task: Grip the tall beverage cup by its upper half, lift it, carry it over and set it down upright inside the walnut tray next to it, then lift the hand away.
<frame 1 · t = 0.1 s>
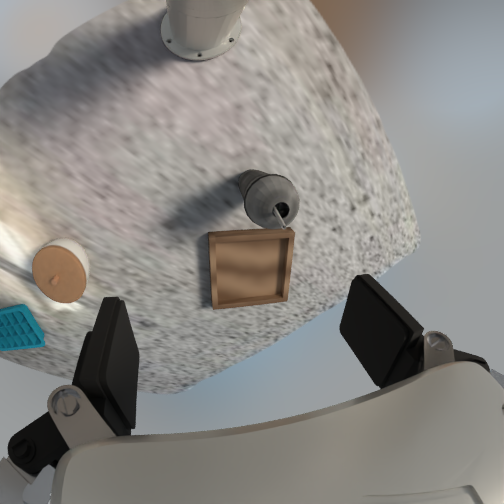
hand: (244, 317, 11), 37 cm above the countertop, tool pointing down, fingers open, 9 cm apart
lidded jar: (71, 255, 44), on the countertop
ice cube tray: (13, 323, 46), on the countertop
walnut tray: (249, 266, 53), on the countertop
beverage cup: (251, 182, 46), on the countertop
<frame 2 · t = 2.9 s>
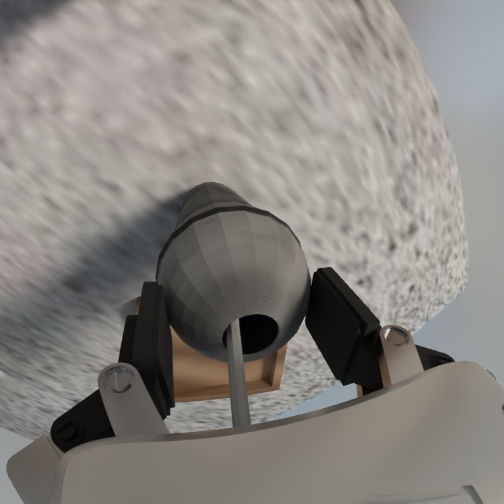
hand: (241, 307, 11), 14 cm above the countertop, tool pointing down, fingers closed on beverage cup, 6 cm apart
walnut tray: (216, 345, 30), on the countertop
beverage cup: (210, 207, 23), on the countertop, touching gripper
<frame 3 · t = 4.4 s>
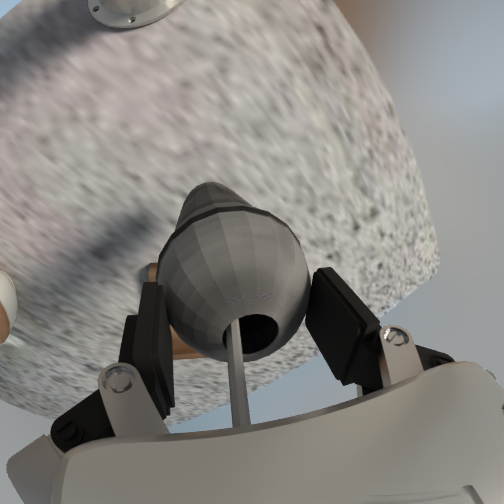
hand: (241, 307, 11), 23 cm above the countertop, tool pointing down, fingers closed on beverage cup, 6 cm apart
lidded jar: (3, 285, 29), on the countertop
walnut tray: (211, 307, 38), on the countertop
beverage cup: (210, 207, 23), point 9 cm above the countertop, touching gripper
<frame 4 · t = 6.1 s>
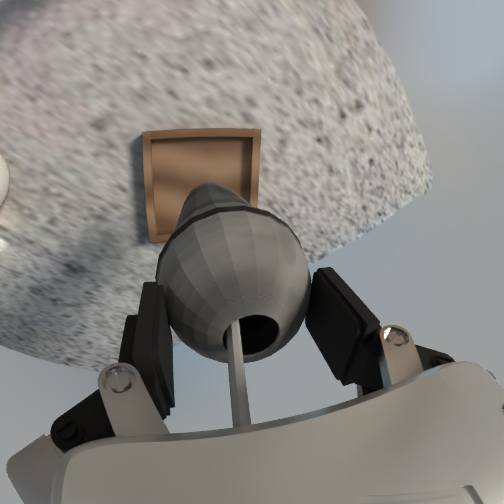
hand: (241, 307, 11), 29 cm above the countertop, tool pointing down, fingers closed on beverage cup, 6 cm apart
walnut tray: (200, 182, 37), on the countertop
beverage cup: (210, 207, 23), point 15 cm above the countertop, touching gripper
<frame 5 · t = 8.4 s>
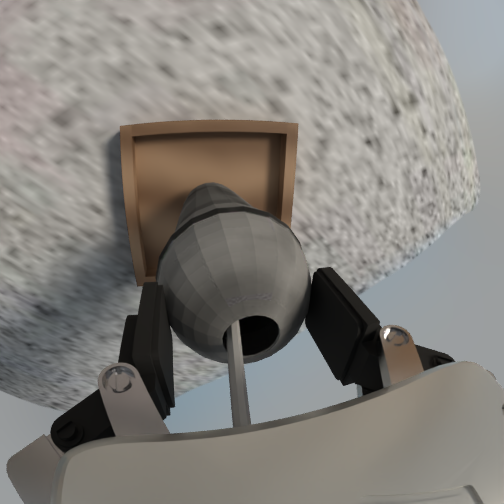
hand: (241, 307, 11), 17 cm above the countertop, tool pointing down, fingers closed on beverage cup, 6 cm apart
walnut tray: (208, 199, 26), on the countertop
beverage cup: (210, 207, 23), point 3 cm above the countertop, touching gripper
when the fingers open (16 cm above the countertop, at t = 9.5 s): beverage cup drops 1 cm, resting on walnut tray.
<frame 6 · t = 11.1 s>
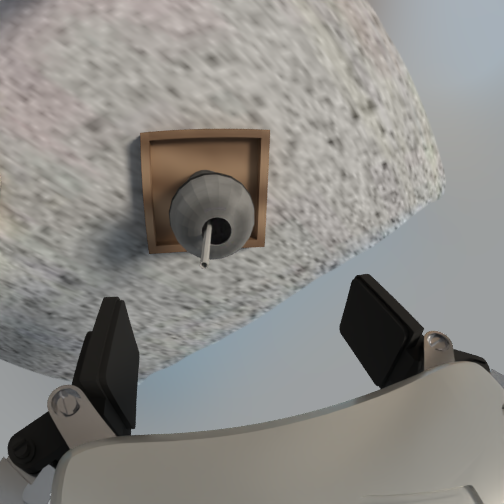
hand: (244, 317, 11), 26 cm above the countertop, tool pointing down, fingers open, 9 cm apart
walnut tray: (204, 187, 34), on the countertop
beverage cup: (204, 187, 33), point 1 cm above the countertop, touching walnut tray
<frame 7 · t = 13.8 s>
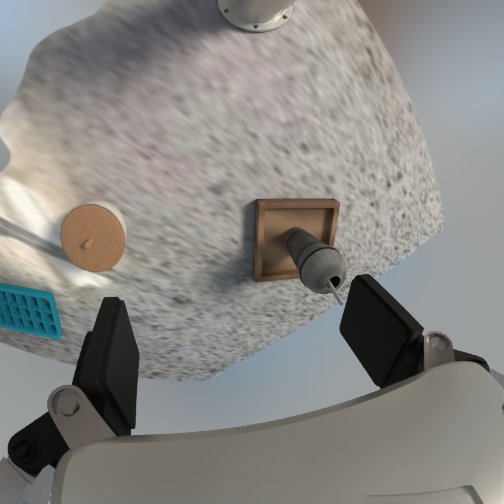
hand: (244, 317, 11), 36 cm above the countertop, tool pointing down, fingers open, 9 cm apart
lidded jar: (104, 222, 42), on the countertop
ice cube tray: (25, 304, 45), on the countertop
walnut tray: (293, 237, 52), on the countertop
beverage cup: (294, 237, 51), point 1 cm above the countertop, touching walnut tray
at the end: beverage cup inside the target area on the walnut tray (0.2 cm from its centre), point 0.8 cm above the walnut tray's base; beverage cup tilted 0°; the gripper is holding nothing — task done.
